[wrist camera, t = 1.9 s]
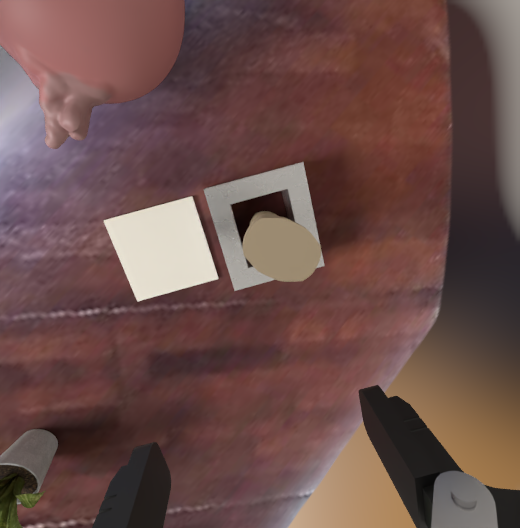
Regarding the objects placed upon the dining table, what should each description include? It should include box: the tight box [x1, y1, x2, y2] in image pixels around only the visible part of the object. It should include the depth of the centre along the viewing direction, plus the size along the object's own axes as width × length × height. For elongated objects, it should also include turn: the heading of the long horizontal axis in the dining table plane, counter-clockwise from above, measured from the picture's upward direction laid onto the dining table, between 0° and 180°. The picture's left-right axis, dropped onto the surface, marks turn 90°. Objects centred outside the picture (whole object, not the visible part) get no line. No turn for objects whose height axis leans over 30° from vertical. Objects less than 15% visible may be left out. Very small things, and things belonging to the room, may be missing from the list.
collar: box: [204, 162, 324, 291], centre depth 36 cm, size 12×11×5 cm
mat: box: [103, 196, 219, 301], centre depth 38 cm, size 11×11×1 cm
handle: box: [243, 211, 321, 282], centre depth 31 cm, size 5×6×15 cm
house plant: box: [0, 429, 58, 528], centre depth 36 cm, size 14×14×16 cm
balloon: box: [0, 0, 185, 149], centre depth 24 cm, size 15×20×15 cm
